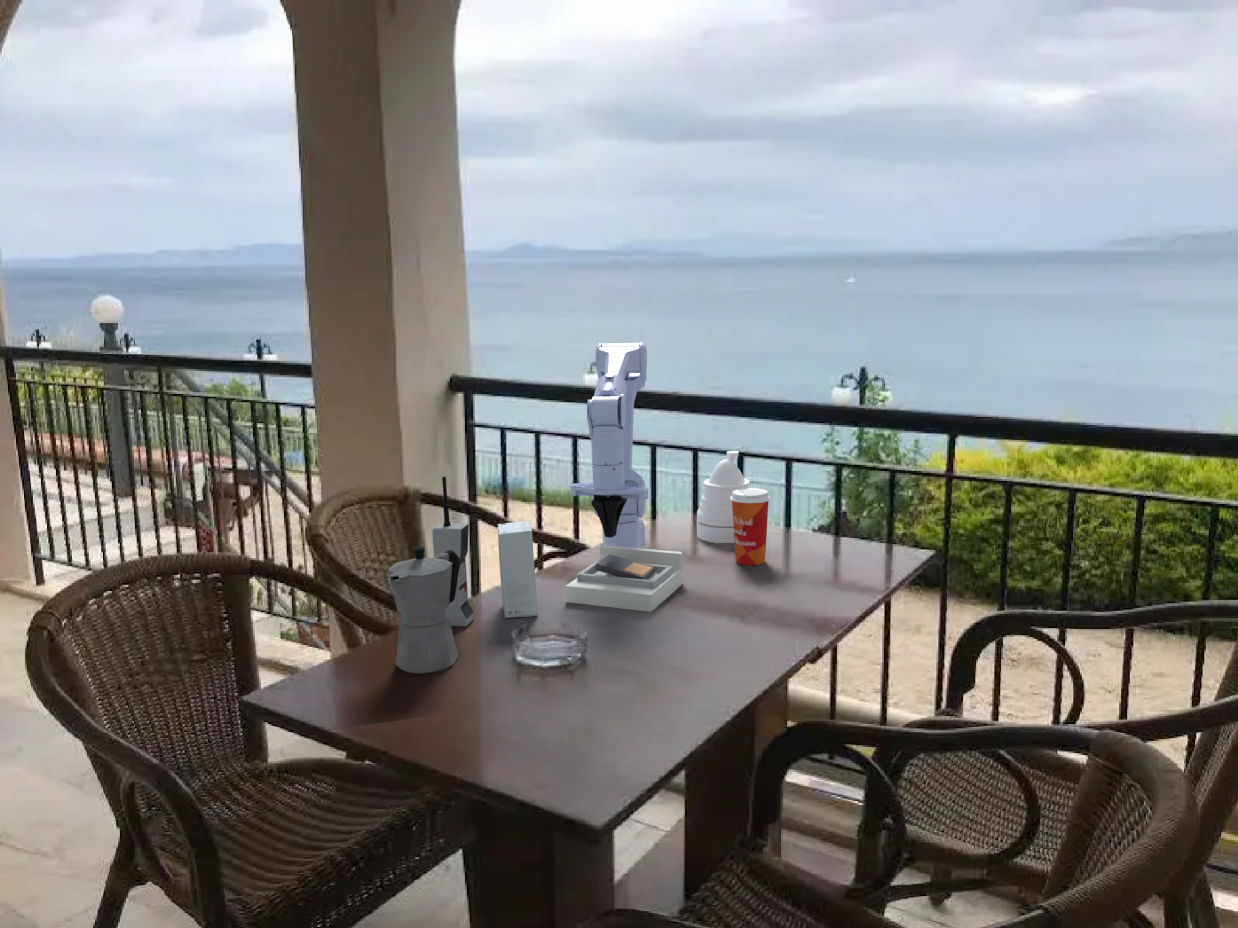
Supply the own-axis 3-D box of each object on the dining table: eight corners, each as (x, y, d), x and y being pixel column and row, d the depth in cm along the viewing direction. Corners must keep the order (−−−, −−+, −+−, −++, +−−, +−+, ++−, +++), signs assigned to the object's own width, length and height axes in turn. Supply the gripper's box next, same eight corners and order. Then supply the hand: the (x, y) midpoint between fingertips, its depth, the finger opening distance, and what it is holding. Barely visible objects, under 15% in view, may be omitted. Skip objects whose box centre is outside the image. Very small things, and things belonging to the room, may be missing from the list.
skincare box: (538, 616, 169) (534, 531, 166) (502, 619, 169) (497, 533, 166) (535, 600, 177) (531, 519, 175) (501, 603, 177) (496, 521, 174)
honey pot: (726, 524, 224) (725, 445, 221) (769, 535, 215) (769, 452, 211) (684, 536, 216) (683, 453, 213) (728, 547, 207) (727, 461, 203)
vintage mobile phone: (467, 627, 165) (457, 478, 160) (438, 626, 166) (428, 478, 161) (474, 619, 169) (465, 474, 164) (446, 618, 170) (437, 473, 165)
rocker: (608, 560, 184) (609, 553, 183) (654, 573, 181) (655, 567, 180) (595, 569, 178) (596, 563, 178) (641, 583, 175) (642, 576, 175)
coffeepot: (422, 683, 143) (413, 562, 140) (373, 672, 148) (363, 554, 144) (487, 647, 156) (481, 535, 153) (440, 637, 161) (432, 529, 158)
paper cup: (723, 559, 198) (722, 490, 196) (756, 553, 201) (756, 485, 199) (744, 569, 191) (744, 498, 189) (778, 563, 194) (778, 493, 192)
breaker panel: (603, 575, 190) (602, 545, 189) (683, 583, 184) (682, 552, 183) (566, 602, 176) (564, 569, 175) (651, 611, 170) (650, 577, 169)
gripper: (561, 465, 179) (564, 538, 182) (637, 469, 173) (639, 545, 176) (578, 457, 185) (581, 528, 188) (651, 461, 180) (653, 534, 182)
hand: (610, 536), depth 183 cm, fingers closed
